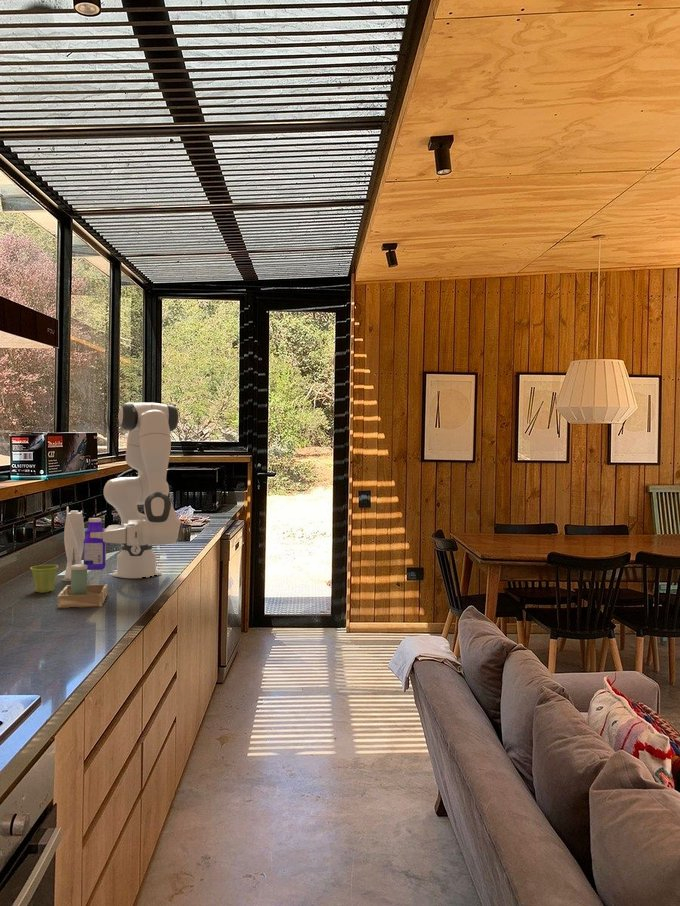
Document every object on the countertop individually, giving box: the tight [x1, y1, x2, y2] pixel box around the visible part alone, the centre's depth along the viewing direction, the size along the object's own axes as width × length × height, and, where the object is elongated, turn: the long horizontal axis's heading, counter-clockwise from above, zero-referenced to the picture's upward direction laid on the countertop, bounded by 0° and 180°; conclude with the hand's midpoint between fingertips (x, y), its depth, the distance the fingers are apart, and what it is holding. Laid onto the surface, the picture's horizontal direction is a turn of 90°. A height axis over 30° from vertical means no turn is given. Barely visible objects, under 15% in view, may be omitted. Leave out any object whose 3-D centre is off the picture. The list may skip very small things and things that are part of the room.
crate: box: [57, 583, 109, 609], centre depth 261 cm, size 18×14×4 cm
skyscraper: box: [60, 506, 89, 582], centre depth 299 cm, size 8×8×28 cm
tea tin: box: [70, 563, 88, 595], centre depth 256 cm, size 5×5×12 cm
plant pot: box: [29, 564, 59, 594], centre depth 278 cm, size 9×9×9 cm
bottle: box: [83, 517, 107, 571], centre depth 266 cm, size 7×6×17 cm
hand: (91, 533), depth 265 cm, fingers closed on bottle, 6 cm apart
